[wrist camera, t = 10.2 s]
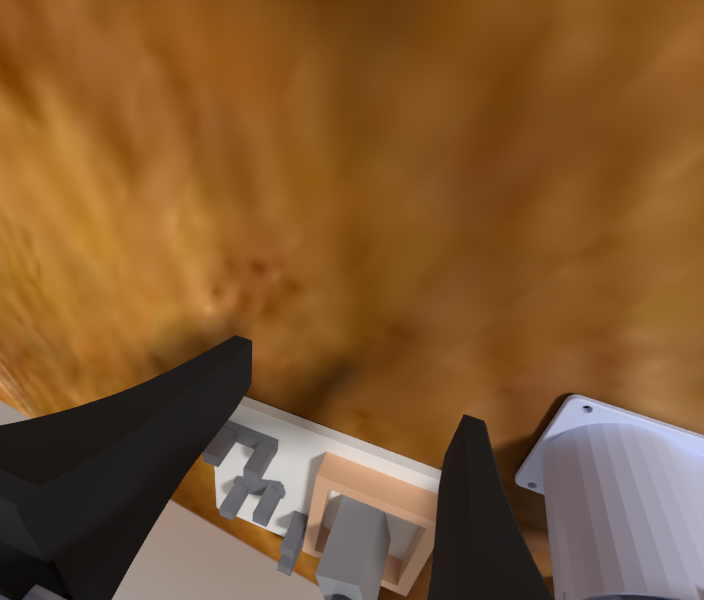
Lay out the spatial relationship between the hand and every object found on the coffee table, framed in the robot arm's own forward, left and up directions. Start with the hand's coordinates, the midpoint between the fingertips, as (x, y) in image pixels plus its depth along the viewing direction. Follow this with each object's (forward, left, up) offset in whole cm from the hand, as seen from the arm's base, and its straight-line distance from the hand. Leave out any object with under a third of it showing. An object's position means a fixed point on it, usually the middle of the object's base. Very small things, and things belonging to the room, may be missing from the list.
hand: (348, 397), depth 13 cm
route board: (+2, +22, -9) cm, 24 cm away
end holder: (-3, +21, -9) cm, 23 cm away
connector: (-2, +21, -9) cm, 23 cm away
